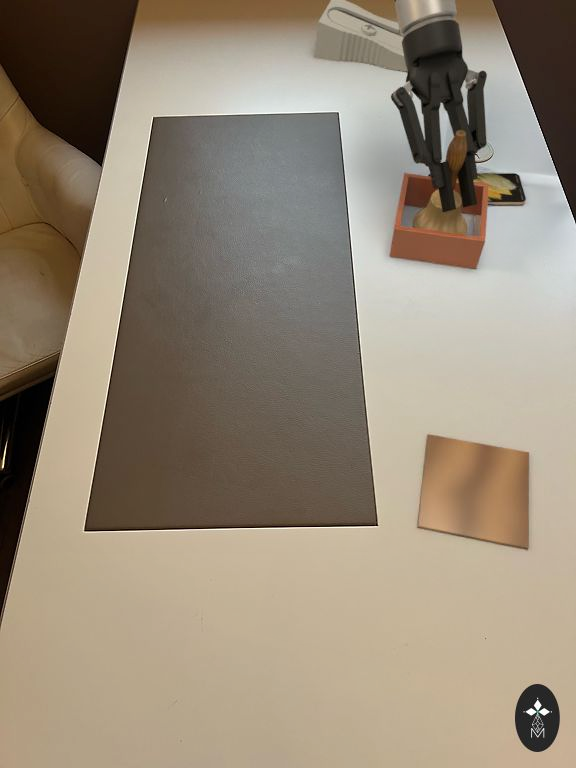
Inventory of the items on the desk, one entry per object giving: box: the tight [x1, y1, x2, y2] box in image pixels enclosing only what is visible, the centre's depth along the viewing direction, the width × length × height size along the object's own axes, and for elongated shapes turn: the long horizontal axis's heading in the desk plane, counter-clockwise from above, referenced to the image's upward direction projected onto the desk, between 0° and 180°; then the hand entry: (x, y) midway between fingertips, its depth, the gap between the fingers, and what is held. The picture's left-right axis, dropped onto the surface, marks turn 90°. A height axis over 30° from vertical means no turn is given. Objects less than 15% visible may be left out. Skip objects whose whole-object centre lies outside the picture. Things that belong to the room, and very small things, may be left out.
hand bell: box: [411, 130, 468, 235], centre depth 88 cm, size 8×8×16 cm
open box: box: [389, 172, 489, 270], centre depth 94 cm, size 13×13×6 cm
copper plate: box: [417, 433, 530, 550], centre depth 72 cm, size 12×12×1 cm
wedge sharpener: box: [313, 0, 408, 73], centre depth 124 cm, size 11×20×7 cm, turn 72°
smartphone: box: [427, 172, 527, 205], centre depth 101 cm, size 7×1×15 cm
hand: (459, 208), depth 87 cm, fingers closed on hand bell, 2 cm apart
